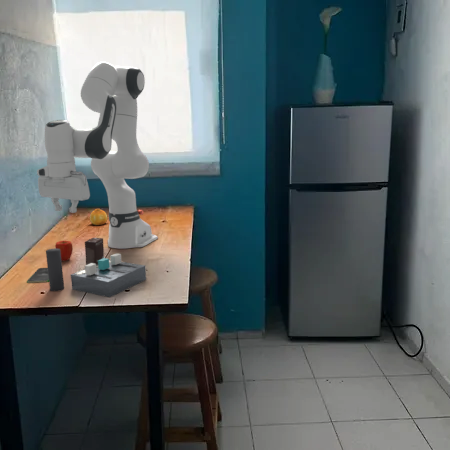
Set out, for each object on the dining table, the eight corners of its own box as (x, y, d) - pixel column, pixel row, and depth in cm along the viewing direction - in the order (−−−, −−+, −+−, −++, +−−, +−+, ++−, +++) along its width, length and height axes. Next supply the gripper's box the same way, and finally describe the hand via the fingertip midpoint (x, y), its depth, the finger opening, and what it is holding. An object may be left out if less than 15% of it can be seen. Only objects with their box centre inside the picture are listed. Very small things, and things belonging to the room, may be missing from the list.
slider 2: (116, 261, 183) (116, 253, 182) (121, 262, 182) (120, 254, 181) (111, 264, 180) (110, 255, 180) (115, 264, 179) (114, 256, 179)
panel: (110, 273, 188) (108, 259, 186) (146, 279, 180) (145, 264, 179) (72, 289, 173) (70, 274, 171) (109, 297, 165) (108, 281, 164)
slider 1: (92, 271, 173) (91, 263, 172) (96, 272, 172) (96, 263, 171) (85, 274, 170) (84, 265, 169) (90, 275, 169) (89, 266, 168)
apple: (77, 258, 206) (75, 239, 204) (65, 263, 201) (63, 243, 199) (65, 256, 209) (63, 238, 208) (53, 260, 204) (51, 242, 202)
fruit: (96, 222, 255) (100, 207, 258) (84, 222, 260) (88, 207, 262) (108, 228, 262) (112, 212, 264) (96, 227, 266) (100, 212, 268)
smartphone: (25, 281, 180) (38, 267, 194) (25, 284, 180) (38, 270, 195) (48, 280, 180) (59, 266, 195) (48, 283, 180) (59, 269, 195)
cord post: (57, 285, 177) (53, 247, 174) (67, 287, 174) (63, 249, 171) (47, 289, 173) (42, 251, 170) (56, 292, 171) (52, 252, 168)
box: (98, 275, 186) (95, 242, 183) (86, 274, 187) (83, 241, 184) (106, 270, 191) (103, 237, 188) (94, 269, 192) (92, 237, 190)
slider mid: (104, 266, 178) (104, 258, 177) (109, 267, 177) (108, 258, 176) (98, 269, 175) (97, 260, 175) (103, 270, 174) (102, 261, 174)
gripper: (92, 170, 174) (95, 212, 177) (47, 168, 184) (52, 207, 187) (78, 173, 168) (82, 216, 171) (33, 170, 178) (37, 211, 181)
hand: (66, 211), depth 179 cm, fingers open, 5 cm apart
